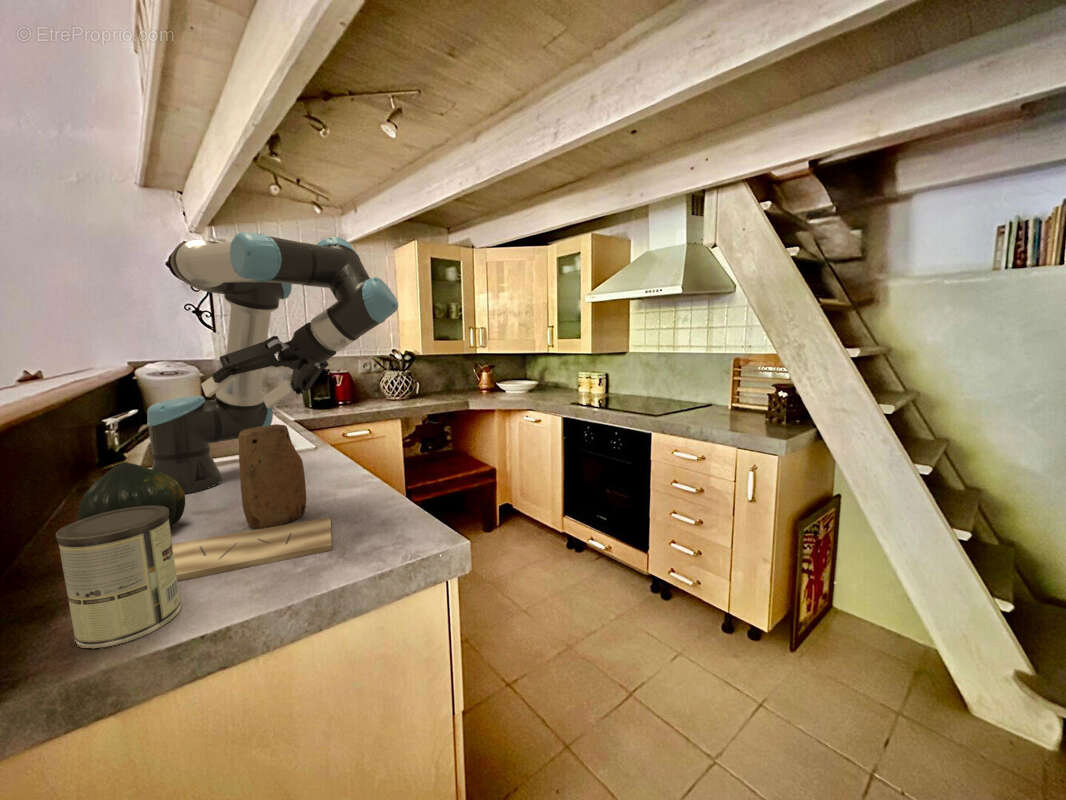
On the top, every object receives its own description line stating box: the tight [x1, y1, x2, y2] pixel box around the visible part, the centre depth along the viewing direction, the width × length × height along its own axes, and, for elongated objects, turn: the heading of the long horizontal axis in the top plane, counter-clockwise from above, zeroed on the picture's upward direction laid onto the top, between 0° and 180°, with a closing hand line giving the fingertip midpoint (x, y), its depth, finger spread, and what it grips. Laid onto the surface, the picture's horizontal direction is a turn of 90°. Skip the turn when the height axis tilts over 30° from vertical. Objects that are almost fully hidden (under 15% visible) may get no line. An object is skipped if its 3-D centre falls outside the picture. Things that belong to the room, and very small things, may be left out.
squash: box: [77, 461, 186, 528], centre depth 82 cm, size 14×15×15 cm
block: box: [238, 423, 307, 529], centre depth 87 cm, size 11×8×20 cm
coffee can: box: [55, 505, 182, 647], centre depth 55 cm, size 10×10×14 cm
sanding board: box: [172, 516, 333, 582], centre depth 75 cm, size 14×28×1 cm, turn 116°
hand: (237, 397), depth 84 cm, fingers open, 13 cm apart
